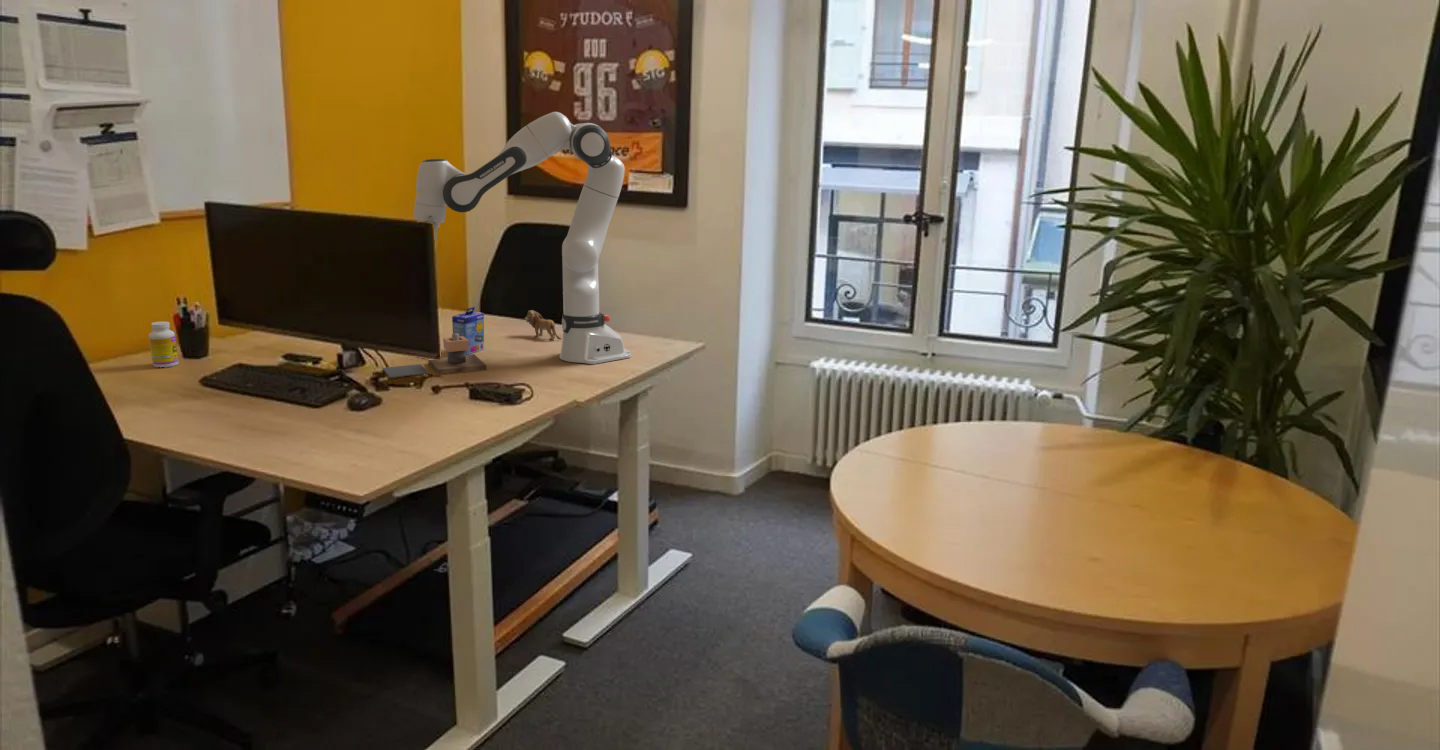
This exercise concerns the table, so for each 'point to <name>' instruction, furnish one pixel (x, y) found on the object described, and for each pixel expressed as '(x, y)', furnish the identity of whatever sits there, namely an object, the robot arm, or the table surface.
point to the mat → (405, 371)
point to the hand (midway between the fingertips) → (425, 261)
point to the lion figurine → (541, 324)
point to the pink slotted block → (456, 344)
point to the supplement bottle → (163, 345)
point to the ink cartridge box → (470, 329)
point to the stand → (457, 362)
